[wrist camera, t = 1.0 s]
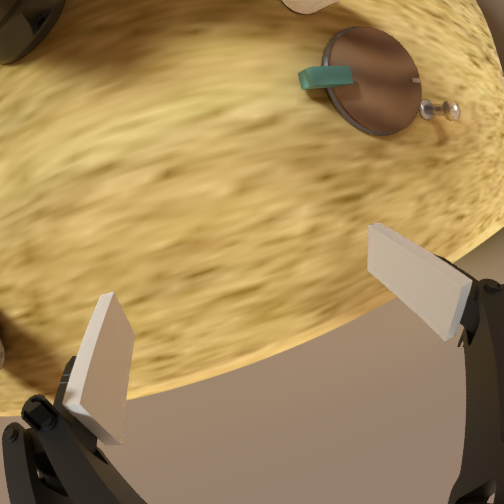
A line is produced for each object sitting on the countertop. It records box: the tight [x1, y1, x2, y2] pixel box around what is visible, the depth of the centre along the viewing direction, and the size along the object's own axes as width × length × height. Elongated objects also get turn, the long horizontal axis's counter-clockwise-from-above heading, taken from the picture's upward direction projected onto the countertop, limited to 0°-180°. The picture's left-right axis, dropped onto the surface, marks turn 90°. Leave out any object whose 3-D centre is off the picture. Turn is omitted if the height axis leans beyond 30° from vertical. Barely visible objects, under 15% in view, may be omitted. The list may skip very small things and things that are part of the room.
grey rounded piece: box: [419, 100, 460, 121], centre depth 32 cm, size 4×4×9 cm
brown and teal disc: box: [298, 27, 421, 133], centre depth 30 cm, size 17×22×4 cm
